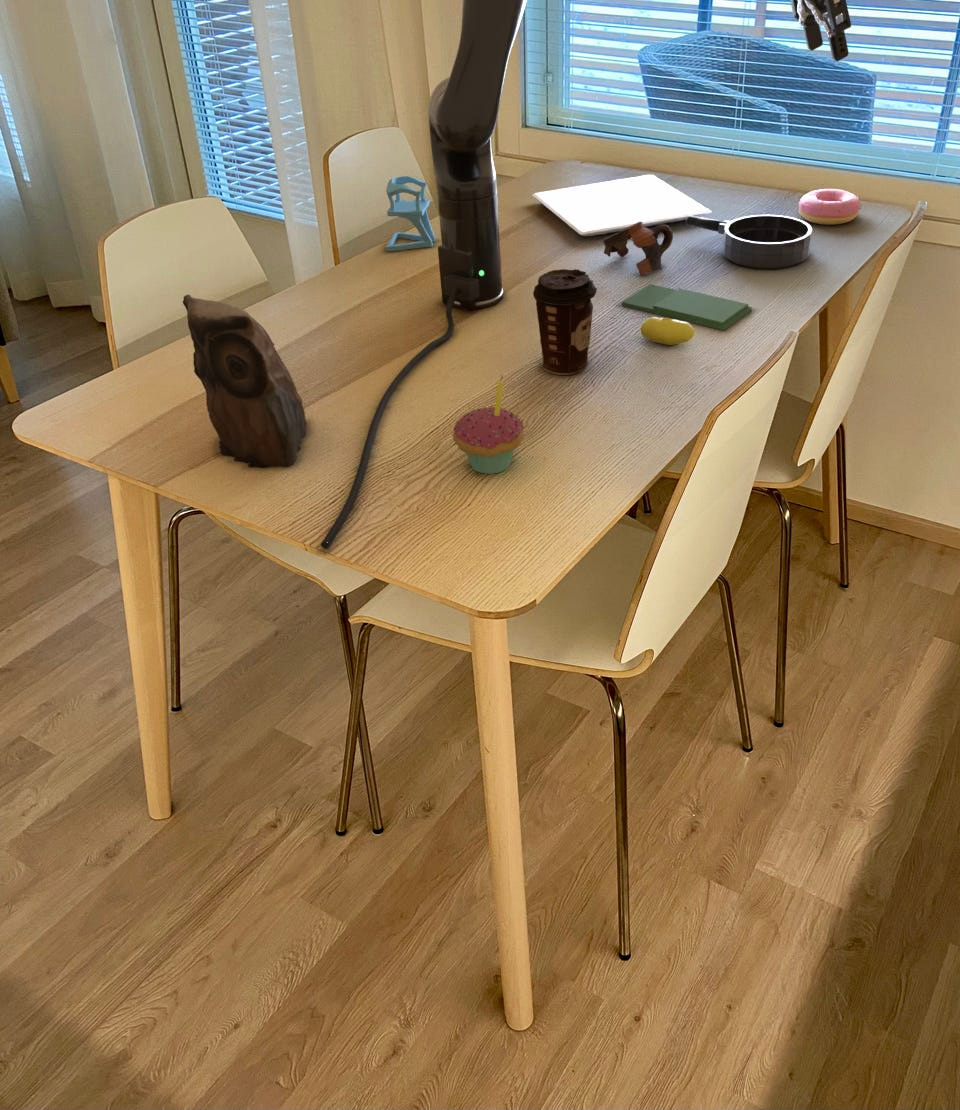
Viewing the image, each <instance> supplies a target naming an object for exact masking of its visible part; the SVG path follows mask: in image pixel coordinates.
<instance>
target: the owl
mask: <svg viewBox="0 0 960 1110" xmlns="http://www.w3.org/2000/svg"><path fill="white" fill-rule="evenodd" d="M182 304H183V306H184V307H185V309H186V314H187V315H186V317H187V327H188V330H189V332H190V338H191V340H192V342H193V344H192V345H193V349H194V352H193V355H192V356H193V368H194V369H193V372H194V374H195V376H196V377H197V378H198V379H199V380H200V382H201V383H202V387H203V389H204V390H205V395H206V396H205V400H206V410H207V412H208V417H209V421H210V422H211V424H212V427H213V428H214V431H215V432H216V434H217V436H218V438H219V441H218V444H219V445H218V448H219V453H220V455H221V456H223V457H224V456H225V457H231V458H234V460H233V461H234V462H237V463H238V462H240V463H244V464H247V467H248V468H259V469H264V468H271V467H273V468H274V467H276V468H277V467H284V468H290V467H291V466H293V465H294V464H295V463H296V462H297V459H298V452H299V451H300V450H301V444H302V441H303V439H304V438H305V437H306V435H307V430H306V429H307V426H308V425H307V424H308V423H307V421H306V420H307V419H306V412H305V407H304V406H303V400H302V397H301V395H300V394H299V392H298V390H297V387H296V385H295V382H294V380H293V378H292V376H291V373H290V372H289V369H288V368H287V366H286V365H285V363H284V361H283V360H282V358H281V356H280V355H279V353H278V351H277V348H276V347H275V343H274V342H273V340H272V338H271V337H270V335H269V333H268V332H267V330H266V329H265V327H263V326H262V324H260V323H259V322H258V321H257V320H256V319H255V318H253V316H251V315H250V314H249V313H248V312H247V311H246V310H244V309H242V308H240V307H238V306H232V305H230V304H229V303H225V302H220V301H217V300H209V299H203V298H197V297H193V296H191V295H190V294H185V295H184V296H183V300H182Z"/></svg>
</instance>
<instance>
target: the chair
mask: <svg viewBox="0 0 960 1110" xmlns="http://www.w3.org/2000/svg"><path fill="white" fill-rule="evenodd" d="M427 182H428V181H423V180H420V179H418V178H416V177H414V176H408V175H404V176H403V175H402V176H398V177H396V176H395V177H391V179H389V180H388V181H387V185H386V189H385V190H386V191H385V192H386V195H387V198H388V200H389V204H390V205H389V206H390V207H389V208H388V209H387V211H386V214H387V217H398V218H403V219H406V220H407V221H409V222H410V223H412V225H413V226H414V227H415V229H416V230H417V231H418V233H411V232H402V231H396V232H394V233H393V235H392V236H391V238H390V239H389V241H388V243H387V244H386V246H385V248H386V249H385V250H386V252H396V251H398V252H399V251H403V250H405V251H406V250H414V249H421V248H432V247H434V243H435V242H437V241H436V236H435V233H434V231H433V227H432V225H431V221H430V217H429V215H428V211H427V209H428V207H429V206H430V199H427V198H426V194H425V193H426V187H427V184H428V183H427ZM407 184H414V185H417V186H419V187H421V190H418V189H416V188H413V187H411V186H409V185H407ZM402 193H403V194H404V193H405V194H409V195H412V196H414V197H415V199H413V200H407V199H401V198H402V197H401V194H402ZM394 196H395V199H394V198H393V197H394ZM398 239H403V240H411V241H412V242H404V243H397V244H395V243H396V241H397V240H398Z"/></svg>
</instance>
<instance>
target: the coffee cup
mask: <svg viewBox="0 0 960 1110" xmlns="http://www.w3.org/2000/svg"><path fill="white" fill-rule="evenodd" d="M597 291H598V288H597V287H596V285H595V284H594V280H593V279H592V280H591V278H590V276H589V274H587V272H586V271H583V270H580V269H565V268H563V269H562V268H561V269H553V270H549V271H547V272H546V273H543V274H542V275H540V276H539V277H538V279H537V284H536V285H535V286H534V289H533V292H532V295H533V298H534V300H535V306H536V314H537V315H536V316H537V322H538V332H539V343H540V348H541V356H542V369H543V370H544V371H545V372H547V373H550V374H553V375H558V376H559V375H560V376H561V375H562V376H568V375H573V374H577V373H581V372H582V371H583V370H585V369H586V367H587V366H588V358H589V357H588V355H589V354H588V353H589V347H590V343H591V342H590V341H591V334H592V324H593V323H592V322H593V312H594V304H593V302H592V299H593V298H594V297H595V296H596V294H597Z"/></svg>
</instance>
